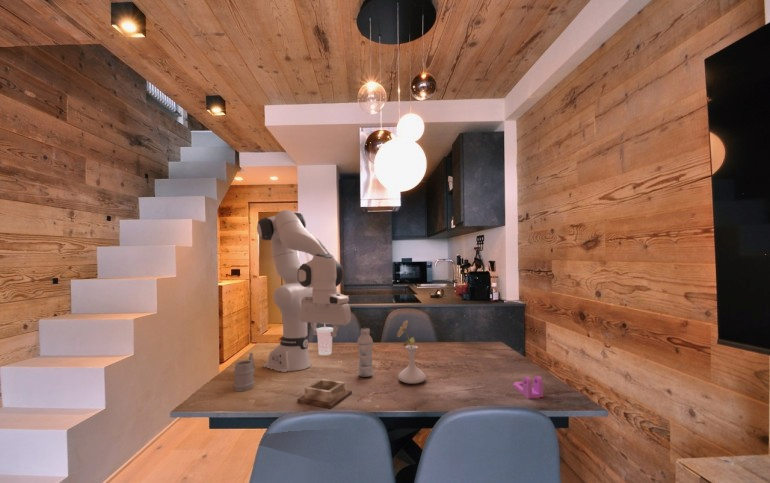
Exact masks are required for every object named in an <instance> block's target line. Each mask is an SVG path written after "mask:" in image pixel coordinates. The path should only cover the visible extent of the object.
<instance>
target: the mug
mask: <svg viewBox="0 0 770 483" xmlns="http://www.w3.org/2000/svg"><path fill="white" fill-rule="evenodd" d="M253 353H254V352H250V353H249V355H248V360H247V359H246V360H239V361H237V362H235V365H234V371H233V374H234V378H233V379H234V380H233V383H232V384H233V385H232V387H233V390H234V391H235V390H236V392H245V391H249V389H250V390H251V388H252V389H253V388H254V385H255V380H254V376H255V374H256V373H255V369H256V368H255V367H256V366H255V360H254V357H253V356H254V354H253Z"/></svg>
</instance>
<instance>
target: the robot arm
mask: <svg viewBox="0 0 770 483" xmlns="http://www.w3.org/2000/svg"><path fill="white" fill-rule="evenodd" d="M306 222H307V221H306V219H305V217H304V215H303V214H302V213H301V212H294V211H293V210H290V209H284V210H281V211H279V212H278V213H277V214H276V215H273V216H269V217H263V218H260V219H259V220H258V222H257V226H256V229H257V230H256V232H257V234H258V236H259V237H260V239H261V240H262V241H271V243H270V244H271V245H270V246H271V253H272V257H273V261H274V265H275V269H276V272H277V273H276V274H277V275H278V276H279V277H280V278H282V280H283V281H284V284H282V285H280V286H279V287H277V288H276V289H275V290H274V292H273V295H272V296H273V298H272V299H273V302H274V304H275V305H276V306H277V307H278V309H279V310H280V314H281V318H282V329H283V332H282V334H283V335H282V336H281V337H278V341H279V342H280V343H279V345H277V346H276V347H275V348H274V349H273V350H271V351H270V352H269V355H268V360H267V361H266V362H265V363H264V364H263V365H262V367H263V368H265V367H267V368H266V369H268V368H270V369H269V370H272V369H274V370H273V371H276V370H277V372H279V371H281V372H280V373H287V371H288V372H294V371H301V370H305V369H308V368H310V367H311V366H312V363H311V359H310V354H309V334H308V323H310V327H311V329H312V331H313V332H312V334H313V336H317V330H316V329H317V328H318V327H317V325H318V324H323V325H324V324H325V325H332V328H333V331H332V332H331V337H332V338H336V337H337V334H338V333H337V332H338V330H339V329H340V326H347V325H349V324H351V321H352V312H351V306H350V304H349V301H350V298H349V296H348V295H345V294H343V293H340V292H338V288H337V287H338V286H340V284H341V283H342V282H343V280H344V277H345V270H344V268H343V266H342V264H340V262H339V261H338V260H336V259H335V255H332V254H331V253H330V252H329V250H328V249H327V248H326V247H325V246H324V245H323V243H322V242H321V241H320V240H319V238H317V237H316V236H314V235H312V234H311V232H309V230H307V227H306V226H307V225H306ZM297 252H302V253H306V254H309V255H311V256H312V259H310V260H309V261H307V262H306V263H303V264H300V260H299V259H300V258H299V256H298V253H297Z"/></svg>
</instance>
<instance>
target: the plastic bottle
mask: <svg viewBox="0 0 770 483" xmlns="http://www.w3.org/2000/svg"><path fill="white" fill-rule="evenodd" d="M370 332H371V331H370V328H369V327H368V328H367V327H363V328H360V335H359V337H358V339H357V346H358V347H357V348H358V367H357V372H358V375H359V377H361V378H362V377H363V378H370V377H373V375H374V371H375V369H374V365H373V357H372V356H373V355H372V354H373V344H374V341H373V338H372V336H371V335H370Z"/></svg>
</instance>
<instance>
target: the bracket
mask: <svg viewBox="0 0 770 483" xmlns="http://www.w3.org/2000/svg"><path fill="white" fill-rule="evenodd" d="M532 382H533V383H532ZM532 385H533V386H532ZM513 388H514V389H515V390H516V389H517V391H518V392H519V393H520V392H521V393H520V394H521V395H523V396H525V398H527V399H540V397H543V398H544V383H543V379H542V377H541V376H540V375H536V376H535V375H534V377H533V381H532V379H531V378H530V376H523V377H522V381H515V382H513Z"/></svg>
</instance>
